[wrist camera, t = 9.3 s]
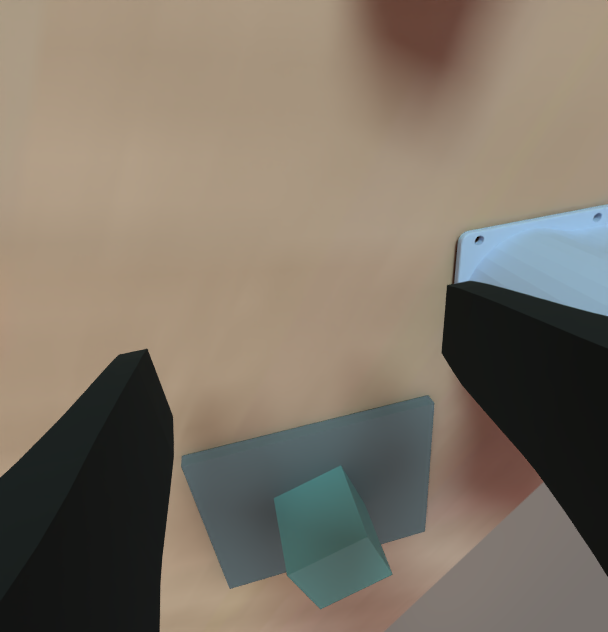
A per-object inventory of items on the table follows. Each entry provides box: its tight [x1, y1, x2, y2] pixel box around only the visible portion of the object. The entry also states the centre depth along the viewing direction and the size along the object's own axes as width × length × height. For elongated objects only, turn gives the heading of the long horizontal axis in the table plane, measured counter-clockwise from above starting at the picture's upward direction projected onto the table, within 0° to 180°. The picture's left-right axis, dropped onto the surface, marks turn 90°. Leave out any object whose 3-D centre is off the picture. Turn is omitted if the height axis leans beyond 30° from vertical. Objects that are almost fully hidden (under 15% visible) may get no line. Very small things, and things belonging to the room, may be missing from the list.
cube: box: [274, 466, 393, 609], centre depth 26 cm, size 5×5×5 cm
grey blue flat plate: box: [181, 395, 434, 589], centre depth 28 cm, size 16×14×1 cm
